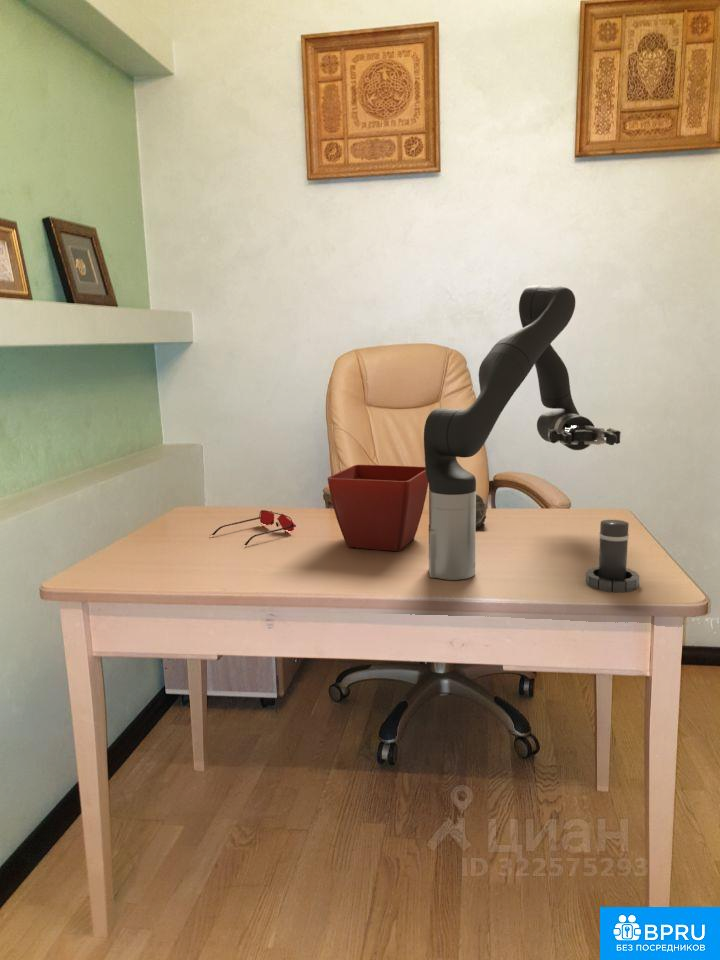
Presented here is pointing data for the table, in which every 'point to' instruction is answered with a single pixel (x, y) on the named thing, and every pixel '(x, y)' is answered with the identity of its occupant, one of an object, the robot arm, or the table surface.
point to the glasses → (269, 522)
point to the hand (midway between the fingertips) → (591, 439)
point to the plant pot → (378, 504)
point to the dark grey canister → (613, 549)
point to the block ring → (612, 581)
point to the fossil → (480, 511)
